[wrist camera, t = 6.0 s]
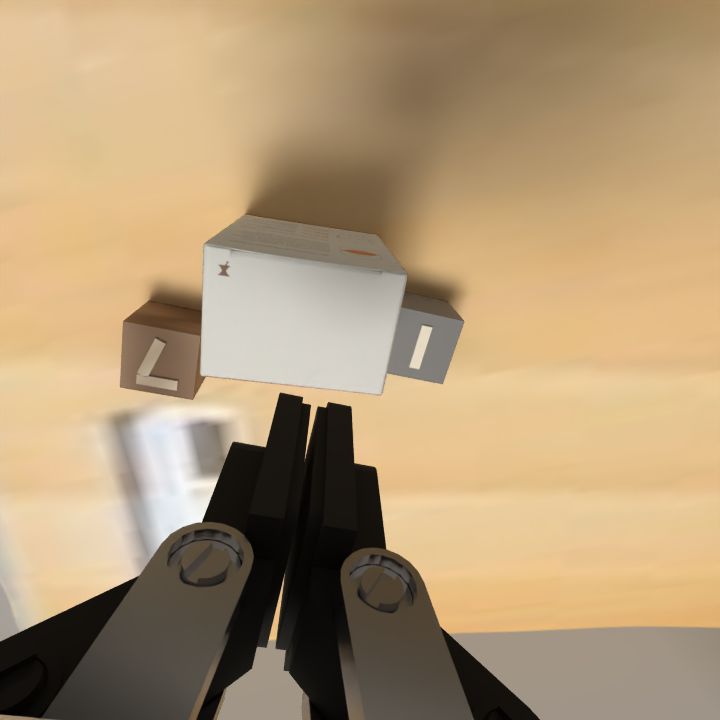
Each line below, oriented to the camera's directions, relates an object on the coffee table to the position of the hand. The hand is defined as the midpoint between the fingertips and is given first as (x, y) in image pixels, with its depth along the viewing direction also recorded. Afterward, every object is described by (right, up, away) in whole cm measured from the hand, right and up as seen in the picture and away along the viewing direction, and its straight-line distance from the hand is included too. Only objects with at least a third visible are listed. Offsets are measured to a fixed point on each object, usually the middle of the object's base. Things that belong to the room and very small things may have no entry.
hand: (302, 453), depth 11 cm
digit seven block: (-10, +4, +19) cm, 21 cm away
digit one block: (+5, +5, +19) cm, 20 cm away
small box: (-2, +8, +18) cm, 19 cm away
